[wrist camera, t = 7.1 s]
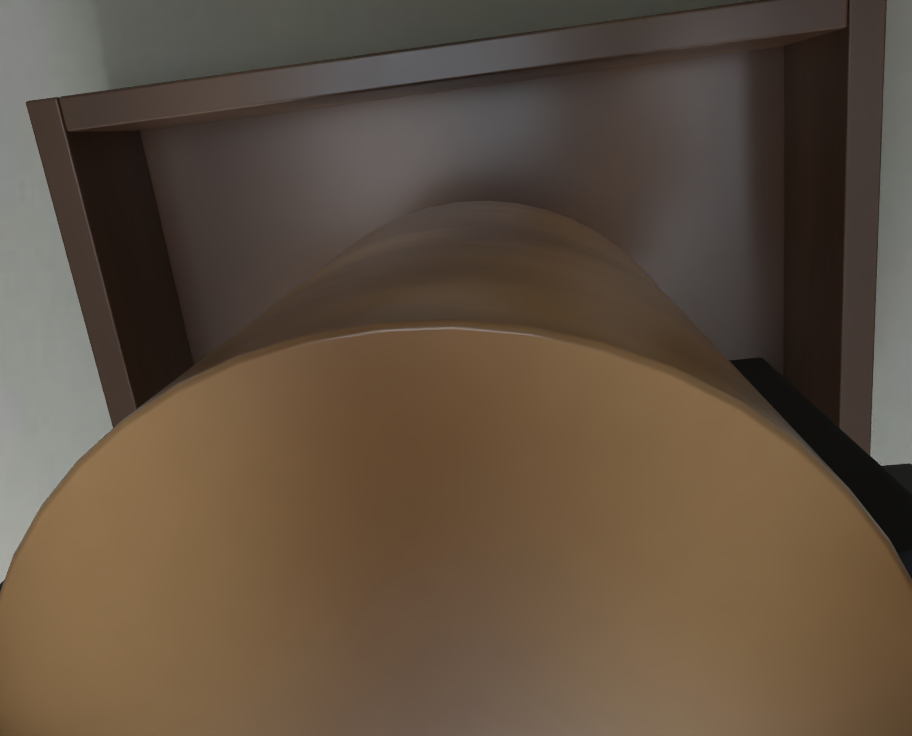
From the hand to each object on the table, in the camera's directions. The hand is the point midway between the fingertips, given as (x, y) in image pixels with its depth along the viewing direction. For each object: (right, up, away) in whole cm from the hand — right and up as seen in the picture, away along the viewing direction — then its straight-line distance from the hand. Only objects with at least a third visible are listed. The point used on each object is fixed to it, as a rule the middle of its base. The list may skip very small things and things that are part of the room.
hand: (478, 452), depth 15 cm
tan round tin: (0, +1, +2) cm, 2 cm away
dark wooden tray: (0, +3, +9) cm, 9 cm away
